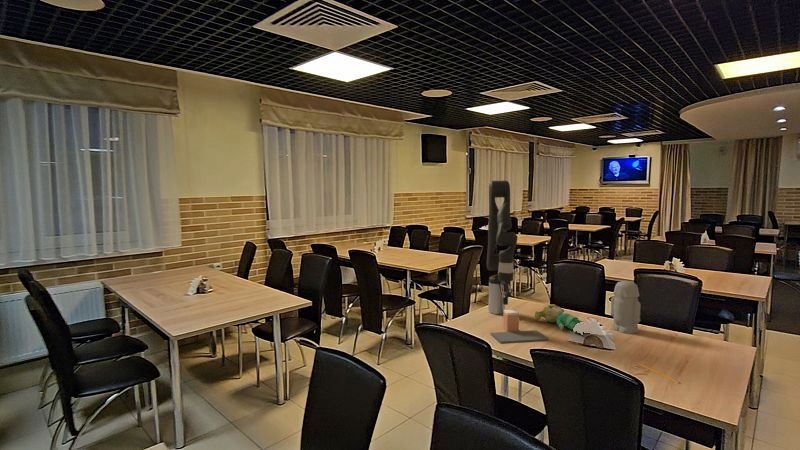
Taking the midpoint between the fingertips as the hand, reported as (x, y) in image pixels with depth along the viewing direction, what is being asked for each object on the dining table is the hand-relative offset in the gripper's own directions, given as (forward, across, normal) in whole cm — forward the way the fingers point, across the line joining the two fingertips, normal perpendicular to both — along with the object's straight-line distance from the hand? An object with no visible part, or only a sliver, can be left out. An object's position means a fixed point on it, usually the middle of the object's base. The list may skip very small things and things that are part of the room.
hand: (505, 304), depth 219 cm
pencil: (+13, +62, +36) cm, 73 cm away
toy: (+12, +5, +30) cm, 33 cm away
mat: (+12, +17, 0) cm, 20 cm away
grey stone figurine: (+12, +14, +57) cm, 60 cm away
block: (+12, +7, 0) cm, 14 cm away
